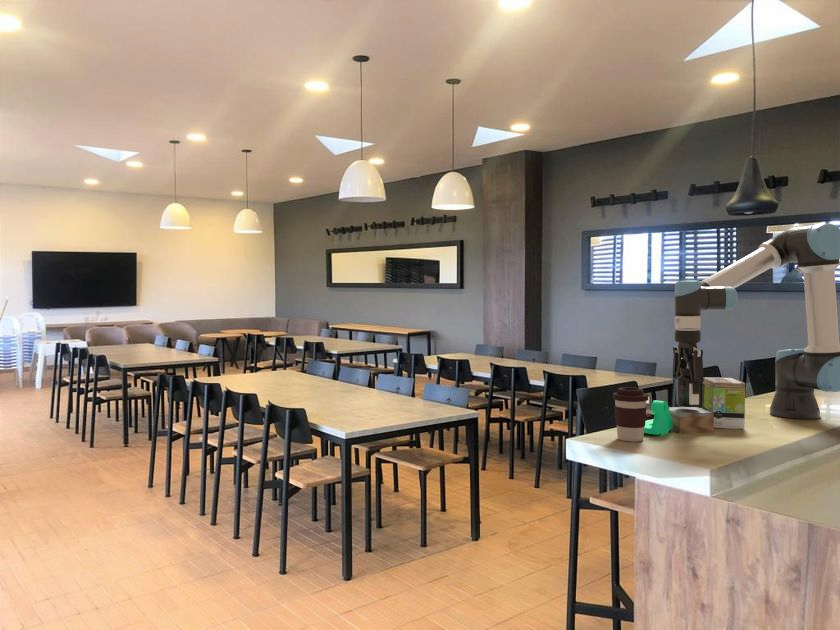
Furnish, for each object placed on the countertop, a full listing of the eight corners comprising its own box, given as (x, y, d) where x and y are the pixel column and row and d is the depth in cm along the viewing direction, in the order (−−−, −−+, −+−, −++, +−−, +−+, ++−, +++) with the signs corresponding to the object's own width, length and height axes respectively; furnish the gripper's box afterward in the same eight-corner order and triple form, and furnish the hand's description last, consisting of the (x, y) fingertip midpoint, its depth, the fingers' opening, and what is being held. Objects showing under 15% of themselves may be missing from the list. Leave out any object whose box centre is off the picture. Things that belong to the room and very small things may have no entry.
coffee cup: (608, 440, 188) (608, 389, 188) (617, 434, 197) (617, 385, 196) (644, 444, 183) (644, 392, 183) (651, 438, 192) (651, 387, 191)
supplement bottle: (682, 403, 208) (683, 366, 208) (703, 405, 203) (704, 367, 203) (672, 405, 204) (672, 367, 204) (693, 408, 199) (693, 369, 198)
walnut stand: (694, 424, 210) (694, 406, 210) (713, 431, 199) (713, 412, 199) (662, 426, 209) (662, 407, 208) (680, 433, 198) (680, 413, 198)
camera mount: (649, 428, 206) (649, 396, 206) (673, 431, 201) (673, 399, 200) (631, 434, 198) (631, 401, 197) (656, 438, 192) (656, 403, 192)
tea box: (745, 429, 202) (746, 382, 202) (711, 428, 204) (711, 382, 204) (732, 420, 217) (733, 376, 216) (700, 419, 219) (701, 376, 219)
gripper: (660, 328, 212) (660, 397, 213) (693, 331, 193) (693, 408, 193) (682, 327, 213) (682, 397, 214) (716, 331, 194) (716, 407, 194)
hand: (687, 402), depth 204 cm, fingers closed on supplement bottle, 7 cm apart
